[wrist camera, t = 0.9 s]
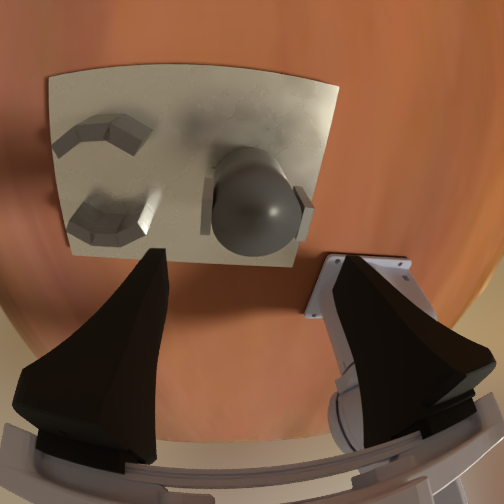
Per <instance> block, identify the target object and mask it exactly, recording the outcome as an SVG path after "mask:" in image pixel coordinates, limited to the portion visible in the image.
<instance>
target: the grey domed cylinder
mask: <svg viewBox="0 0 504 504" xmlns="http://www.w3.org/2000/svg"><path fill="white" fill-rule="evenodd" d="M314 209H315V208H314V206H313V205H312V203H311V201H310V199H309V198H308V196H307V194H306V192H305V191H304V189H303V187H301V186H294V187H293V190H292V188H291V186H290V184H289V182H288V180H287V178H286V176H285V174H284V172H283V170H282V169H281V167H280V165H279V163H278V161H277V160H276V159H275V158H274V157H273V156H272V155H271V154H270V153H268V152H266V151H264V150H262V149H259V148H253V147H246V148H240V149H237V150H234V151H232V152H230V153H228V154H227V155H226V156H225V157H223V158H222V159H221V161H220V162H219V163H218V165H217V167H216V169H215V172H214V177H213V178H205V179H204V186H203V195H202V207H201V225H200V235H209V236H210V230H211V224H212V229H213V233H214V235H215V237H216V238H217V240H218V241H219V242H220V244H221V245H222V246H224V247H225V248H226V249H228V250H229V251H231V252H233V253H235V254H238V255H242V256H247V257H260V256H265V255H269V254H272V253H275V252H277V251H279V250H280V249H282V248H284V247H285V246H286V245H287V244H289V243H290V242H291V241H292V239H293V238H294V237H295V240H296V241H304V242H305V240H306V236H307V233H308V230H309V226H310V223H311V219H312V216H313V212H314Z"/></svg>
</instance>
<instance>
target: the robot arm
mask: <svg viewBox="0 0 504 504" xmlns="http://www.w3.org/2000/svg"><path fill="white" fill-rule="evenodd" d="M337 259H338V260H337ZM335 260H337V261H335ZM410 265H411V260H410V259H408V258H393V257H376V256H359V255H342V254H330V255H328V256H327V257H326V259H325V261H324V264H323V267H322V269H321V272H320V275H319V277H318V280H317V282H316V285H315V287H314V290H313V293H312V295H311V298H310V300H309V302H308V305H307V307H306V310H305V312H304V316H305V318H308V319H309V318H323V320H324V323H325V326H326V329H327V332H328V335H329V338H330V341H331V344H332V347H333V351H334V354H335V357H336V360H337V363H338V367H339V370H340V373H341V377H340V378H338V379H336V380H335V383H336V387H337V390H338V391H337V392H335V393H334V394H333V395H332V396H331V398H330V402H329V406H328V423H329V428H330V431H331V434H332V436H333V439H334V441H335V442H336V444H337V446H338V447H339V448H340V450H341V451H342V452H343V453H345V454H343V455H339V456H334V457H330V458H325V459H320V460H315V461H309V462H303V463H297V464H289V465H281V466H272V467H261V468H249V469H220V470H218V469H215V470H213V469H211V470H210V469H209V470H207V469H182V468H168V467H157V466H148V465H150V464H152V463H153V462H154V461H155V460H156V459H157V455H156V435H155V389H156V370H157V361H158V355H159V349H160V344H161V339H162V334H163V329H164V324H165V319H166V314H167V307H168V296H169V280H168V270H167V259H166V248H149V249H148V250H147V252H146V253H145V254H144V256H143V257H142V259H141V260H140V261H139V263H138V264H137V265H136V267H135V268H134V269H133V270H132V272H131V273H130V274H129V275H128V277H127V278H126V279H125V281H124V282H123V283H122V284H121V285H120V287H119V288H118V289H117V290H116V291H115V292H114V294H113V295H112V296H111V297H110V298H109V299H108V301H107V302H106V303H105V304H104V305H103V306H102V307H101V308H100V309H99V310H98V311H97V312H96V313H95V314H94V315H93V316H92V317H91V318H90V319H89V320H88V321H87V322H86V323H85V324H84V325H82V326H81V327H80V328H79V329H78V330H77V331H76V332H75V333H73V334H72V335H71V336H70V337H69V338H67V339H66V340H65V341H64V342H62V343H61V344H60V345H58V346H57V347H56V348H54V349H53V350H51V351H50V352H49V353H47V354H46V355H44V356H43V357H41V358H40V359H38V360H36V361H35V362H33V363H32V364H30V365H28V366H27V367H25V368H24V369H22V372H21V375H20V378H19V380H18V384H17V387H16V391H15V395H14V398H13V402H12V406H13V408H14V410H15V411H16V412H17V413H18V414H19V415H20V416H22V417H23V418H24V419H26V420H27V421H29V422H30V423H31V424H33V425H34V426H35V427H37V428H38V429H39V430H38V436H36V435H34V434H32V433H30V432H28V431H25V430H23V429H20V428H18V427H16V426H13V425H11V424H9V423H5V425H4V431H3V436H2V441H1V447H0V486H2V487H3V488H5V489H7V490H9V491H10V492H12V493H14V494H16V495H18V496H20V497H22V498H24V499H25V500H27V501H29V502H31V503H34V504H215V498H214V497H213V496H212V495H210V494H191V493H180V492H169V491H168V490H167V489H166V488H165V487H175V488H176V487H177V488H192V489H193V488H194V489H236V488H253V487H265V486H273V485H282V484H290V483H295V482H302V481H308V480H313V479H318V478H323V477H328V476H332V475H336V474H340V473H344V472H348V471H352V470H355V469H358V470H359V472H360V475H357V476H354V477H352V478H351V481H352V485H353V488H352V489H350V490H346V491H342V492H339V493H334V494H331V495H326V496H322V497H317V498H312V499H307V500H301V501H296V502H289V503H282V504H469V503H468V500H467V497H466V494H465V490H464V487H463V484H462V481H461V478H460V475H462V473H464V472H465V471H466V470H468V469H469V468H470V467H471V466H472V465H473V464H475V463H476V462H477V461H478V460H479V459H480V458H481V457H482V456H483V455H485V454H486V453H487V452H488V451H489V450H490V449H491V448H493V447H494V446H495V445H496V444H497V443H498V442H500V441H501V440H502V439H503V438H504V419H503V417H502V414H501V412H500V409H499V407H498V405H497V402H496V400H495V398H494V395H493V393H492V392H490V393H489V394H487V395H485V396H483V397H482V398H480V399H478V400H477V401H475V402H473V399H472V397H474V396H475V391H474V389H473V388H474V387H475V386H476V385H478V384H479V383H480V382H481V381H482V380H483V379H485V378H486V377H487V376H488V375H489V374H490V373H491V372H492V371H493V369H494V368H495V367H496V361H495V359H494V357H493V355H492V353H491V351H490V350H489V349H488V348H486V347H484V346H482V345H480V344H477V343H475V342H473V341H471V340H469V339H467V338H465V337H463V336H461V335H459V334H457V333H456V332H454V331H452V330H450V329H449V328H447V327H446V326H444V325H443V324H441V323H439V322H438V320H437V316H436V313H435V311H434V309H433V307H432V305H431V304H430V302H429V300H428V299H427V297H426V296H425V294H424V292H423V291H422V289H421V288H420V286H419V285H418V283H417V282H416V280H415V278H414V277H413V275H412V274H411V272H410V271H409V270H408V269H409V267H410ZM141 464H145V465H141ZM146 464H147V465H146ZM163 486H164V487H163Z"/></svg>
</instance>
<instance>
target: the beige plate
mask: <svg viewBox="0 0 504 504" xmlns="http://www.w3.org/2000/svg"><path fill="white" fill-rule="evenodd" d="M338 91H339V87H338V86H334V85H330V84H326V83H322V82H318V81H314V80H309V79H305V78H300V77H295V76H290V75H285V74H279V73H273V72H267V71H260V70H252V69H244V68H235V67H224V66H211V65H190V64H153V65H132V66H119V67H109V68H100V69H92V70H85V71H79V72H73V73H67V74H62V75H57V76H52V77H49V119H50V134H51V147H52V154H53V162H54V170H55V177H56V183H57V189H58V195H59V200H60V205H61V210H62V215H63V219H64V224H65V228H66V231H65V232H67V236H68V240H69V244H70V247H71V251H72V255H79V256H93V257H108V258H124V259H140V260H141V259H142V257H143V256H144V254H145V253H146V252H147V250H148V249H149V248H166V259H167V261H174V262H192V263H210V264H230V265H251V266H273V267H293V263H294V260H295V257H296V253H297V250H298V247H299V243H300V241H296V240H295V237H294V238H293V239H292V241H291V242H290V243H289V244H287V245H286V246H285V247H284V248H282V249H280V250H279V251H277V252H275V253H272V254H269V255H265V256H260V257H247V256H242V255H238V254H235V253H233V252H231V251H229V250H228V249H226V248H225V247H224V246H222V245H221V244H220V242H219V241H218V240H217V238H216V237H215V235H214V233H213V229H212V224H211V230H210V236H209V235H200V225H201V207H202V195H203V186H204V179H205V178H213V177H214V172H215V169H216V167H217V165H218V163H219V162H220V161H221V159H222V158H223V157H225V156H226V155H227V154H228V153H230V152H232V151H234V150H237V149H240V148H246V147H253V148H259V149H262V150H264V151H266V152H268V153H270V154H271V155H272V156H273V157H274V158H275V159H276V160H277V161H278V163H279V165H280V167H281V169H282V170H283V172H284V174H285V176H286V178H287V180H288V182H289V184H290V186H291V188H292V190H293V187H294V186H301V187H303V189H304V191H305V192H306V194H307V196H308V198H309V199H310V201H312V197H313V193H314V189H315V186H316V182H317V178H318V174H319V170H320V166H321V162H322V159H323V155H324V151H325V147H326V142H327V138H328V134H329V130H330V126H331V122H332V117H333V113H334V109H335V104H336V100H337V95H338Z"/></svg>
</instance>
